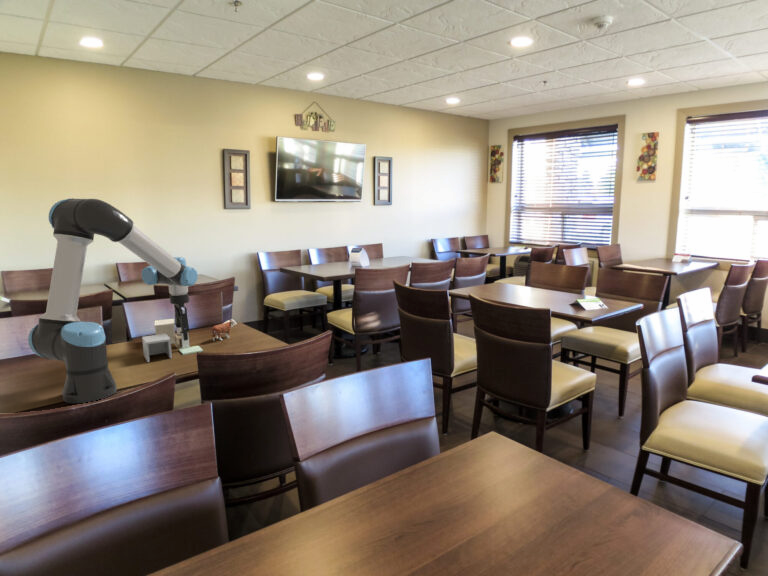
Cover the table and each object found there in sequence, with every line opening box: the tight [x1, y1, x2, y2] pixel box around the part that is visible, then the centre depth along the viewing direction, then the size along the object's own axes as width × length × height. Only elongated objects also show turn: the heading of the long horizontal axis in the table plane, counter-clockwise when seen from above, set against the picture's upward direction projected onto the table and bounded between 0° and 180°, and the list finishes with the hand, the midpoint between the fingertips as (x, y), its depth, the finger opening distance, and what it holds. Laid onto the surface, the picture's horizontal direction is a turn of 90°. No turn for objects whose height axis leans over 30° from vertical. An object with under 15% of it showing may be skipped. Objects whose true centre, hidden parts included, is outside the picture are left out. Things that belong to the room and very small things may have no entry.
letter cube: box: [174, 333, 191, 349], centre depth 214 cm, size 5×5×5 cm
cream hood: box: [154, 318, 176, 345], centre depth 221 cm, size 10×9×8 cm
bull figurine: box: [211, 318, 238, 342], centre depth 225 cm, size 4×13×8 cm, turn 148°
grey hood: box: [141, 333, 173, 363], centre depth 199 cm, size 10×9×8 cm
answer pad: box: [178, 345, 204, 356], centre depth 208 cm, size 8×8×1 cm
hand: (183, 344), depth 214 cm, fingers open, 9 cm apart
